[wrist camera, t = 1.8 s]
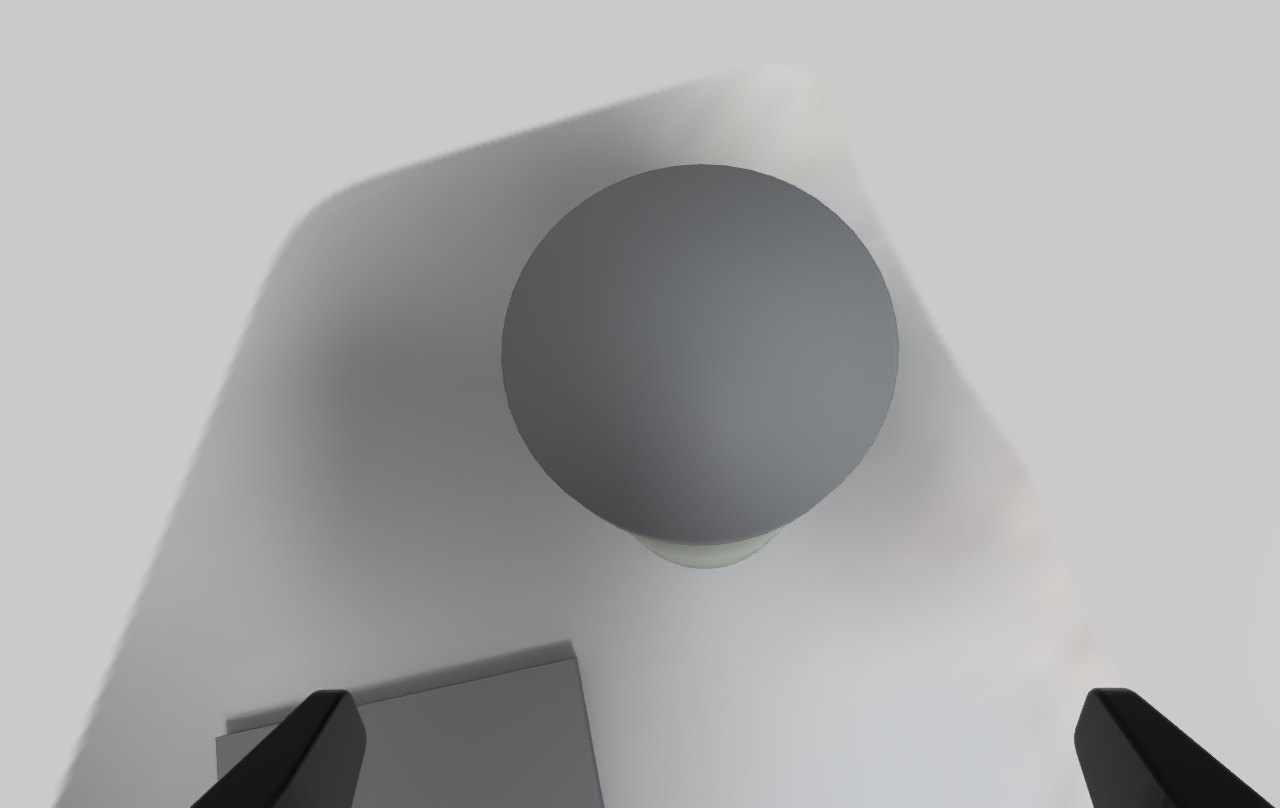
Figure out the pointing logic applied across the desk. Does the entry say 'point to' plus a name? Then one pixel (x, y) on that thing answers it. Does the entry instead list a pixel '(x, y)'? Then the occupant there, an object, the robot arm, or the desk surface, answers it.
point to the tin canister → (700, 357)
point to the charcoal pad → (471, 745)
